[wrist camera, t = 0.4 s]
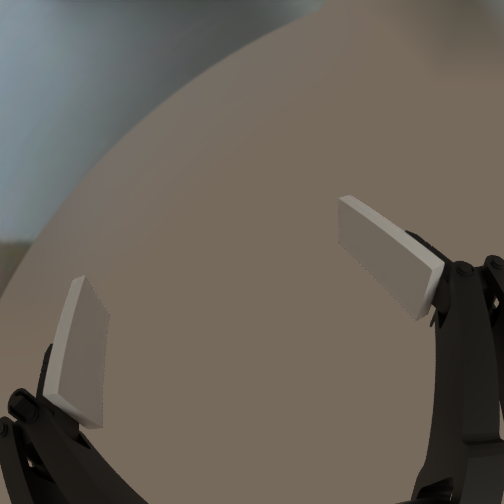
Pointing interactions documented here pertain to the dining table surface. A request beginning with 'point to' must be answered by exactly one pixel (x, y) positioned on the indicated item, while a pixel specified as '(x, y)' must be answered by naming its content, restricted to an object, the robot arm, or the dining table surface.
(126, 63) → the dining table surface
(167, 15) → the dining table surface
